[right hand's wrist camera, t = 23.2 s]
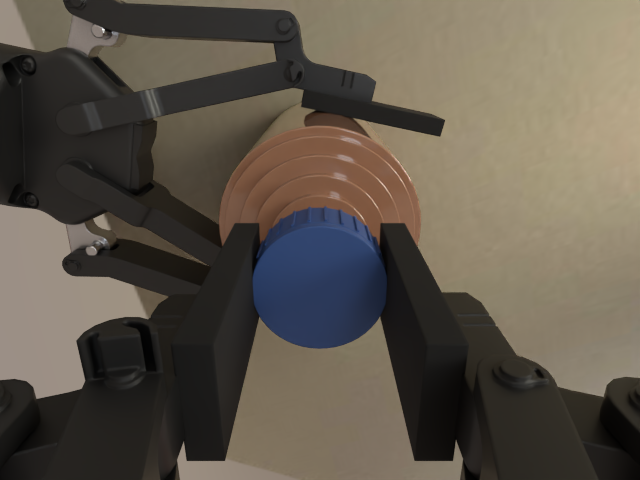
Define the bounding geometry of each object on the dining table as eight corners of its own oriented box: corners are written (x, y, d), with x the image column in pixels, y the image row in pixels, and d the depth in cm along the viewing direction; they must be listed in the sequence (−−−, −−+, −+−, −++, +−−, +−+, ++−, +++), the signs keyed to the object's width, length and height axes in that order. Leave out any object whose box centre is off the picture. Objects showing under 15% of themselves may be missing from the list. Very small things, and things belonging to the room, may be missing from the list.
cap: (307, 339, 15) (306, 372, 14) (231, 252, 14) (219, 277, 13) (406, 276, 15) (417, 304, 13) (333, 179, 13) (335, 195, 12)
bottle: (363, 229, 31) (408, 404, 15) (250, 206, 31) (174, 362, 15) (394, 115, 28) (490, 181, 12) (271, 86, 28) (205, 117, 12)
